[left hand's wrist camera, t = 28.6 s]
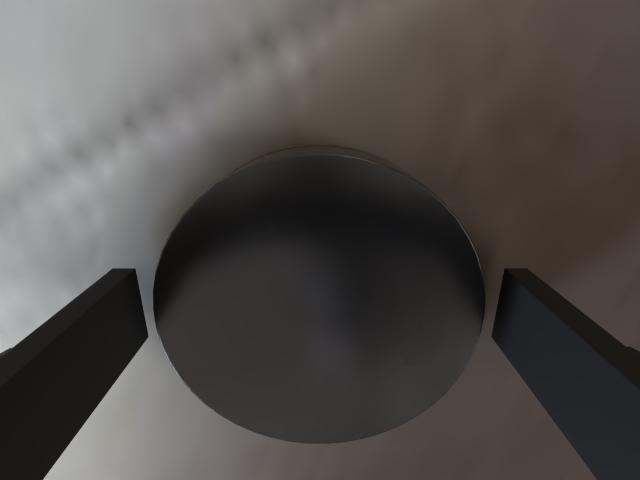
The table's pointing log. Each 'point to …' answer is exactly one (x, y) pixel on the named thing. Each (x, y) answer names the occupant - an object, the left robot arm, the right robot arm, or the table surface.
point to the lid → (319, 296)
